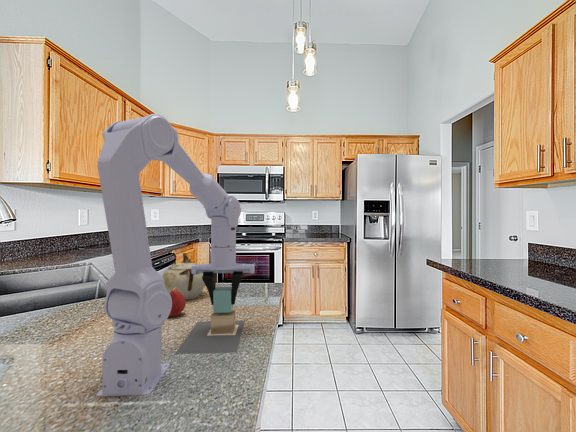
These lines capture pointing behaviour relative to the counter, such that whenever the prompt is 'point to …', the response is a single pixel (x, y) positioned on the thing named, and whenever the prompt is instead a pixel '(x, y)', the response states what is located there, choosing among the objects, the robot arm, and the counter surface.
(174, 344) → the counter surface
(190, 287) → the cream rounded vessel
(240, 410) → the counter surface
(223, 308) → the teal block
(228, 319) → the maple block
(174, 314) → the onion
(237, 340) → the mat
